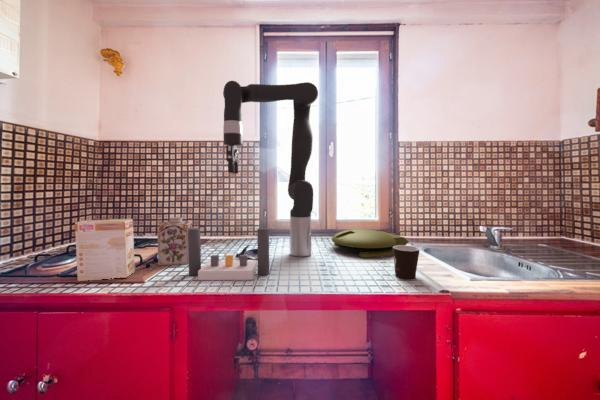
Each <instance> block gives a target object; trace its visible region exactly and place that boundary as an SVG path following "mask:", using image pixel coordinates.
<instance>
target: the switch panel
mask: <svg viewBox="0 0 600 400" xmlns="http://www.w3.org/2000/svg"><path fill="white" fill-rule="evenodd" d="M257 271H258V260H248V257H247V255H240V257H239V260H233V266H225V260H220V255H219V254H212V255H210V260H208V261H207V262H206V263H205V264H204V265H203V266H201V269H200V270H199V271H198V276H197V281H223V280H224V281H228V280H230V281H232V280H234V281H237V280H238V281H239V280H243V281H244V280H246V281H247V280H253V279H254V278H255V276H256V273H257ZM255 272H256V273H255Z"/></svg>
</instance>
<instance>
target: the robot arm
mask: <svg viewBox="0 0 600 400" xmlns="http://www.w3.org/2000/svg"><path fill="white" fill-rule="evenodd" d="M222 95H223V96H222V97H223V99H224V109H223V145H225V146H226V147H225V148H226V155H225V156H226V159H225V160H226V162H227V166H228V167H227V168H228V169H227V172H228V173H230V174H234V175H236V174H239V164H240V150H239V149H238V147H241V146H243V124H242V121H243V120H242V115H243V114H242V104H244V103H271V102H278V101H293V103H292V104H293V123H292V136H291V152H290V154H291V156H290V157H291V158H290V173H289V181H288V185H287V193H288V196H289V198H291V200H293V206H292V208H291V209H290V211H289V215H290V216H289V217H290V218H289V219H290V220H289V221H290V223H289V224H290V225H289V228H290V233H289V234H290V235H289V238H290V239H289V241H290V242H289V245H290V248H289V251H290V252H289V254H290V255H291V256H292V257H293V256H294V257H308V256H309V257H310V256H312V211H313V207H314V187H313V186H312V184H311V183H310V182H309V181H308V180H306V171H307V167H308V164H309V161H310V158H311V156H312V152H313V141H314V140H313V131H312V127H311V126H312V125H311V121H310V113H311V107H312V104H314V103H315V102H316V100H317V99H318V96H319V90H318V88H317V86H316V85H315V84H314V83H312V82H299V83H292V84H261V83H251V84H248V85H245V86H241V84H240V83H239V82H237V81H236V80H229V81H228V82H226V83H225V85H224V87H223V92H222Z"/></svg>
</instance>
